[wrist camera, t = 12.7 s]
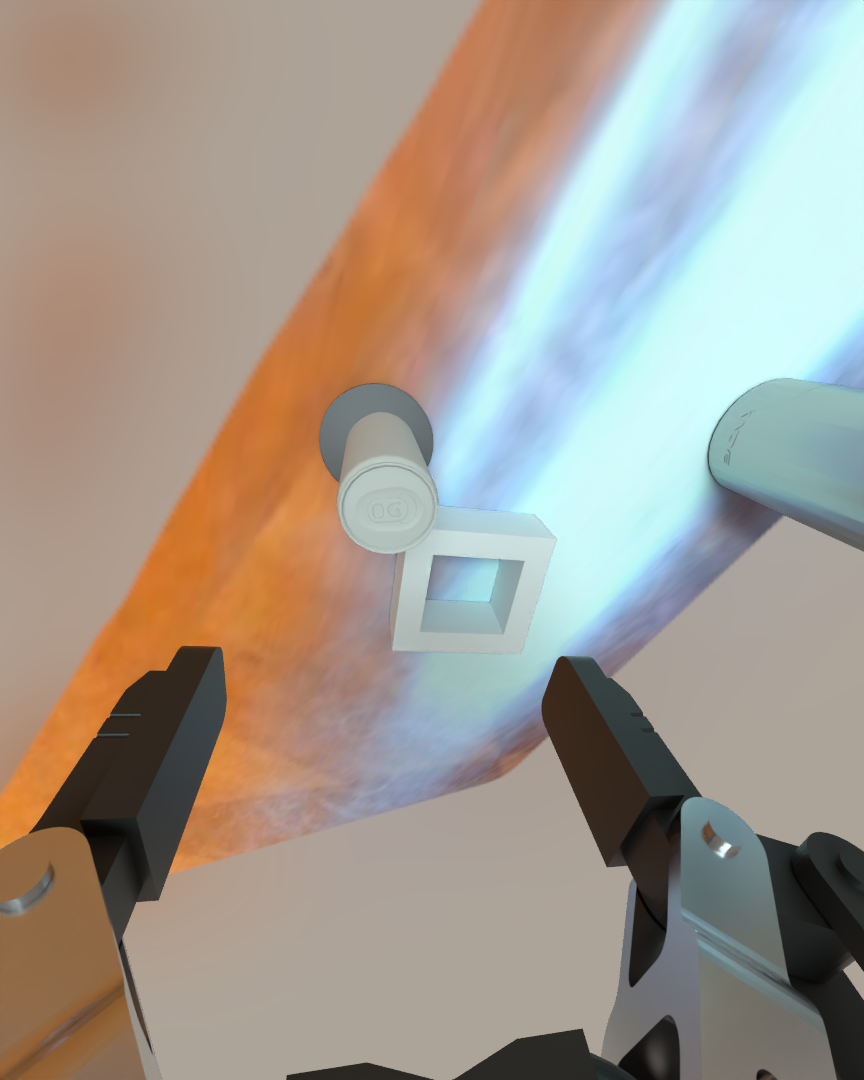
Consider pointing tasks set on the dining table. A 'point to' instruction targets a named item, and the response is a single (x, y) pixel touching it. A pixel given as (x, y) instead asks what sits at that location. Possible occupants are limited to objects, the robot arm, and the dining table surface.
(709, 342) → the dining table surface
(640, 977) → the robot arm
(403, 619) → the pocket block
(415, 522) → the beverage can
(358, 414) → the coaster
